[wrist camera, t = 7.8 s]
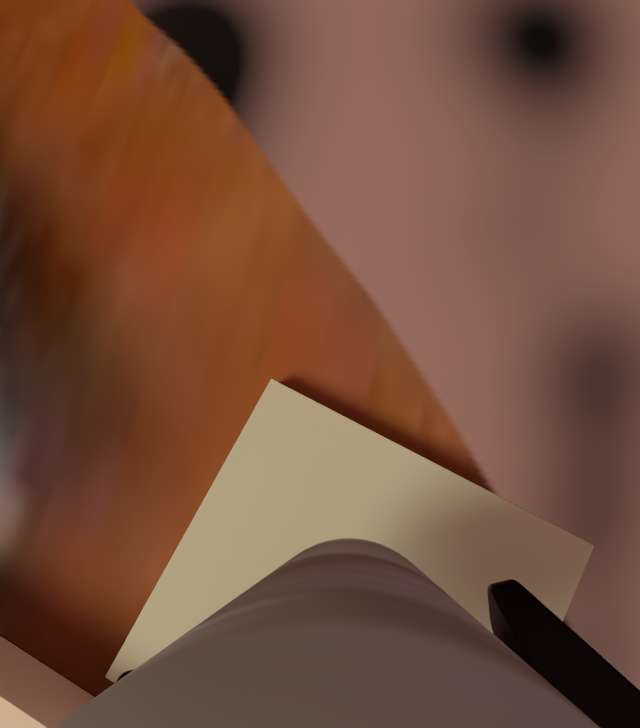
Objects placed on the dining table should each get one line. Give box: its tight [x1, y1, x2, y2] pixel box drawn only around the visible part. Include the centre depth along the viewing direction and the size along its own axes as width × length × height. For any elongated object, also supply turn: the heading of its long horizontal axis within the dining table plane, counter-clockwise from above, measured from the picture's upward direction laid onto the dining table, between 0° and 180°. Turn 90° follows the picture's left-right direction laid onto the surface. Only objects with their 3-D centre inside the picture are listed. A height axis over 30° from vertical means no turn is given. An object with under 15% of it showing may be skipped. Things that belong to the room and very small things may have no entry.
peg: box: [54, 538, 600, 728], centre depth 9 cm, size 5×5×13 cm
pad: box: [105, 379, 594, 683], centre depth 20 cm, size 11×12×1 cm
